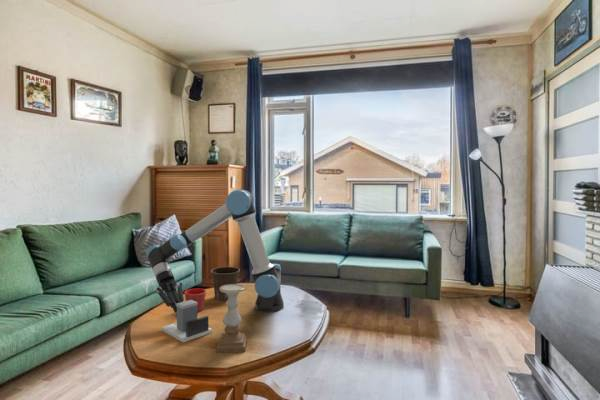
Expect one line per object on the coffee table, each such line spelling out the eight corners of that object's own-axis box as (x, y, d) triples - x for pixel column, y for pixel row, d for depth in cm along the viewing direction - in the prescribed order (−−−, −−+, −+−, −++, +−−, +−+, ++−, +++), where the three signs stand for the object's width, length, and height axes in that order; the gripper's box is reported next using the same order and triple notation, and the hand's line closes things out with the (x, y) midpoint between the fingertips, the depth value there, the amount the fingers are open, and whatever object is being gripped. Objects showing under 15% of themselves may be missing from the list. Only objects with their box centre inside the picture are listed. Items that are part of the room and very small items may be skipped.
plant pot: (230, 303, 194) (230, 274, 193) (205, 300, 200) (205, 271, 199) (245, 295, 209) (245, 268, 209) (221, 292, 215) (221, 265, 214)
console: (161, 330, 158) (161, 313, 157) (190, 321, 168) (190, 305, 168) (183, 342, 146) (183, 324, 145) (212, 332, 156) (212, 315, 156)
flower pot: (209, 306, 189) (209, 288, 189) (201, 314, 178) (201, 294, 178) (189, 305, 190) (189, 287, 190) (180, 313, 179) (180, 293, 179)
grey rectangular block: (176, 328, 156) (176, 303, 155) (191, 323, 161) (191, 299, 161) (182, 331, 152) (182, 306, 152) (197, 326, 158) (197, 302, 157)
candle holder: (220, 340, 148) (220, 283, 147) (246, 339, 149) (247, 283, 148) (216, 352, 137) (216, 291, 136) (245, 352, 138) (245, 290, 137)
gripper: (173, 276, 177) (191, 317, 166) (147, 281, 167) (165, 325, 156) (178, 267, 173) (198, 309, 162) (152, 271, 163) (171, 317, 153)
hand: (181, 317), depth 160 cm, fingers closed
